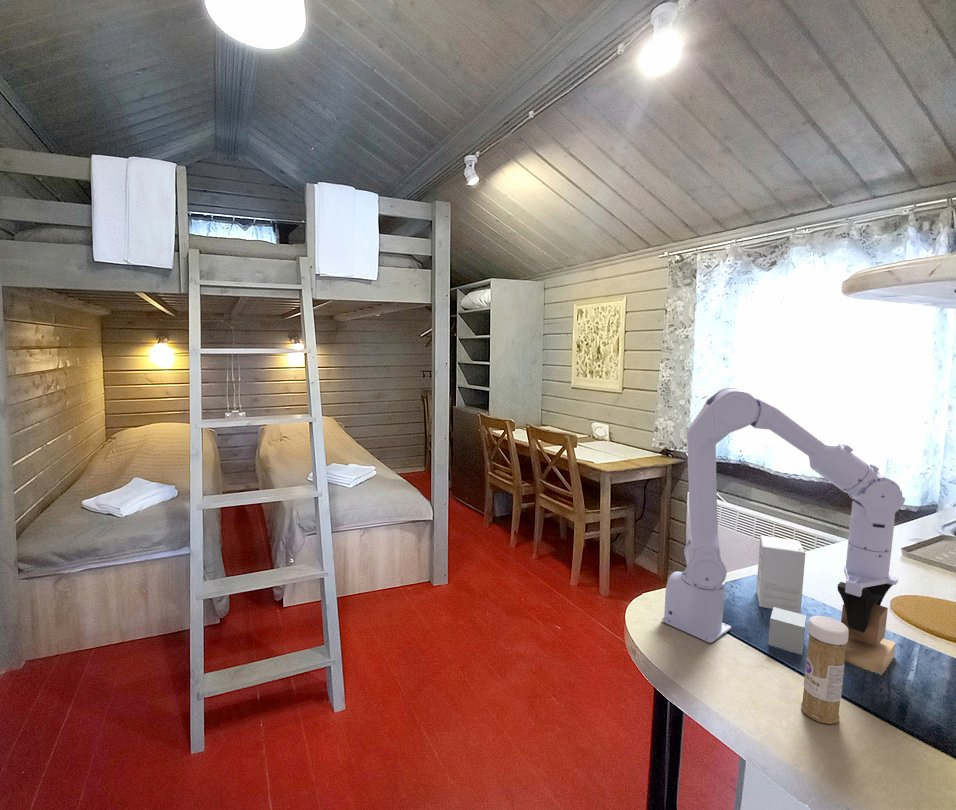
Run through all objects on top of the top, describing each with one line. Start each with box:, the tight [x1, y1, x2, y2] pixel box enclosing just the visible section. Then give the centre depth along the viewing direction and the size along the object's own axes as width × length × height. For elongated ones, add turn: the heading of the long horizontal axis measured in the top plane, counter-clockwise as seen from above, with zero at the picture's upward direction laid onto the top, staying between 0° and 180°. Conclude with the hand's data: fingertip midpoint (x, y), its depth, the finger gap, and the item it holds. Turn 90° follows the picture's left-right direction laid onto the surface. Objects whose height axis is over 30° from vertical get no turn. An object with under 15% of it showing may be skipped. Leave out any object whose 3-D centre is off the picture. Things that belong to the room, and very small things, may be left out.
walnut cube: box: [840, 603, 889, 647], centre depth 86 cm, size 5×5×5 cm
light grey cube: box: [767, 607, 807, 656], centre depth 90 cm, size 5×5×5 cm
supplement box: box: [755, 535, 806, 614], centre depth 104 cm, size 7×7×13 cm
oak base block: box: [844, 636, 897, 675], centre depth 87 cm, size 8×8×3 cm
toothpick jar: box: [800, 615, 849, 725], centre depth 71 cm, size 5×5×13 cm
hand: (861, 624), depth 86 cm, fingers closed on walnut cube, 5 cm apart
